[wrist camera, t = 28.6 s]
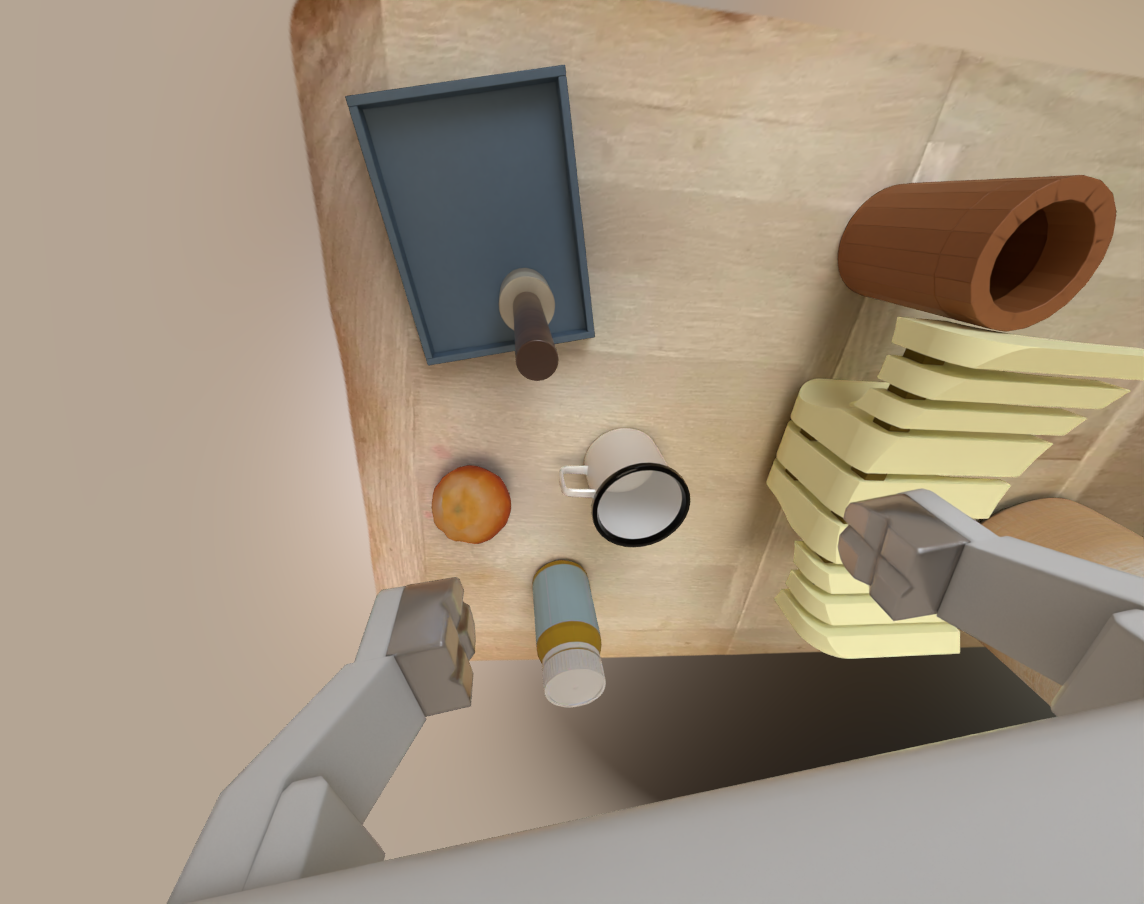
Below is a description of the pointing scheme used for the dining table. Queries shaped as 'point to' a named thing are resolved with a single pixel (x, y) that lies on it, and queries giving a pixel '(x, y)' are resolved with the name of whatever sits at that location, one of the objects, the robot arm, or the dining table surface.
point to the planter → (1070, 534)
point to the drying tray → (478, 203)
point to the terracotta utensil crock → (980, 246)
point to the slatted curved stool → (920, 458)
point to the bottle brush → (530, 321)
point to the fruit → (471, 504)
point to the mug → (630, 489)
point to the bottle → (567, 635)
